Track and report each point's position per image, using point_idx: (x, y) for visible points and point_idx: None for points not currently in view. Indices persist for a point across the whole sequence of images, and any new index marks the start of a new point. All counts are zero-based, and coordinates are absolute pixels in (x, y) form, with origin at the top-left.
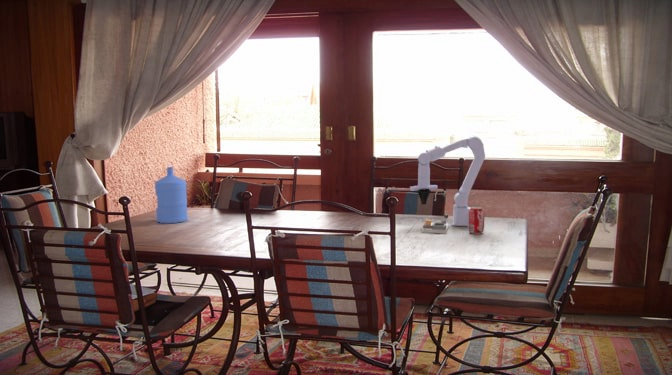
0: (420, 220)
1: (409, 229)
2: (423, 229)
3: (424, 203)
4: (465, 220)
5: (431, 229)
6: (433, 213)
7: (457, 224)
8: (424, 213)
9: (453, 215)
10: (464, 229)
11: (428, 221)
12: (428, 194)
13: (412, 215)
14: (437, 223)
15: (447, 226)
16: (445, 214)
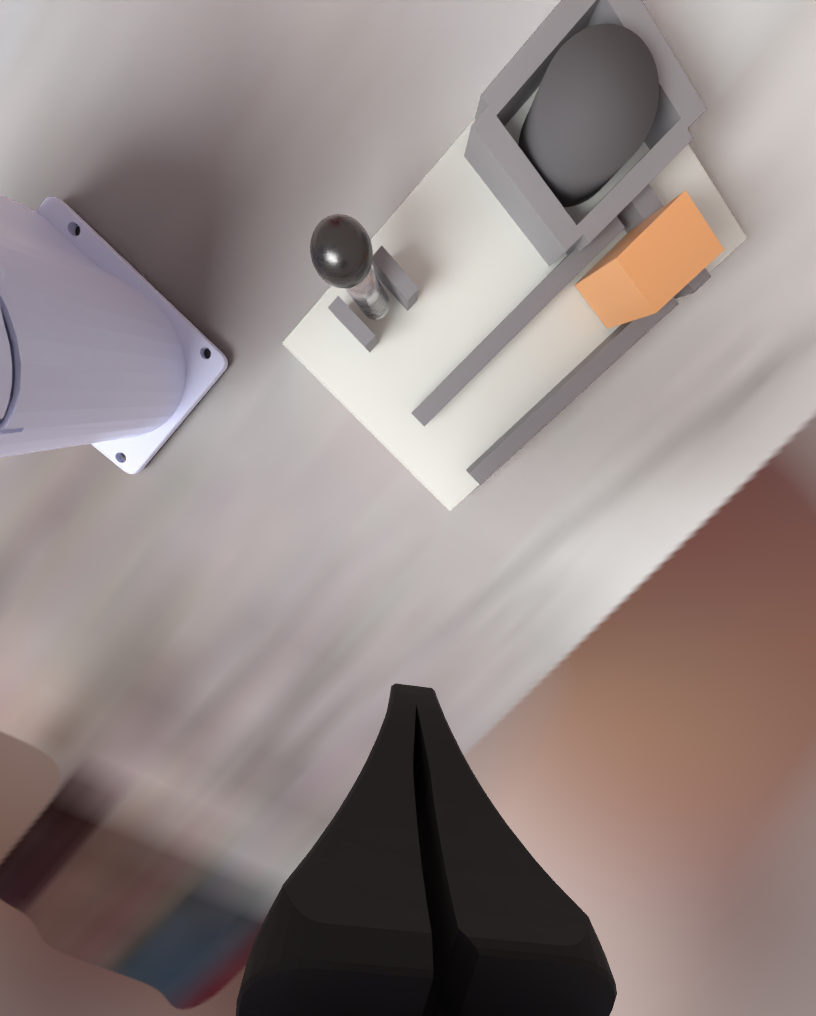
0: (325, 699)
1: (683, 447)
2: (735, 225)
3: (422, 696)
4: (57, 247)
5: (684, 151)
6: (65, 845)
7: (173, 327)
8: (129, 871)
9: (122, 398)
10: (233, 97)
11: (694, 221)
12: (352, 831)
13: (254, 856)
14: (636, 97)
15: (380, 232)
16: (348, 246)
